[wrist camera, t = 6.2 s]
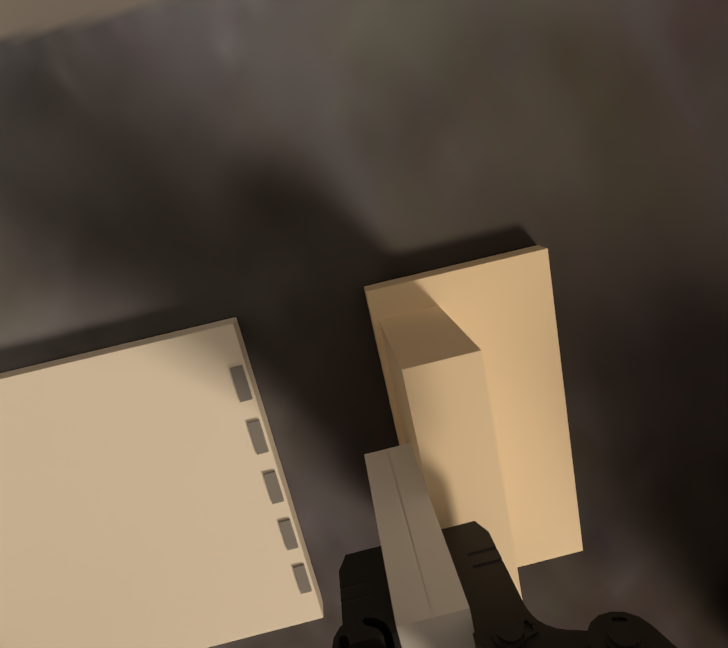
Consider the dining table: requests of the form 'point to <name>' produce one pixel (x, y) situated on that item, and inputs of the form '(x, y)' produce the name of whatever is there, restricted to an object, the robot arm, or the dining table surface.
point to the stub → (483, 398)
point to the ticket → (146, 500)
